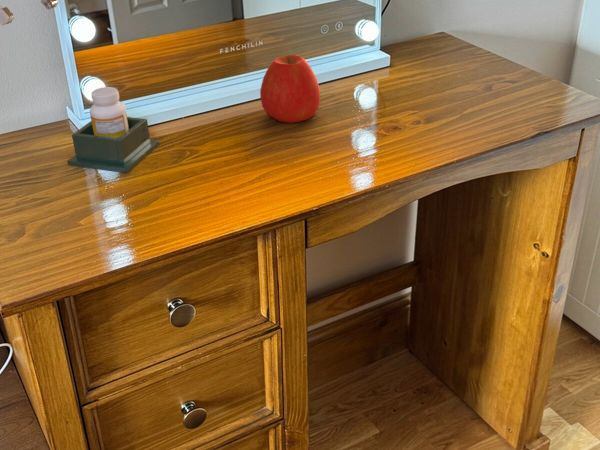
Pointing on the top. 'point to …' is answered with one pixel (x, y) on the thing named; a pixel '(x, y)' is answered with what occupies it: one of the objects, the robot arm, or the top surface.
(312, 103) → the apple
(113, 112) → the supplement bottle
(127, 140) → the bottle holder
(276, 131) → the top surface
